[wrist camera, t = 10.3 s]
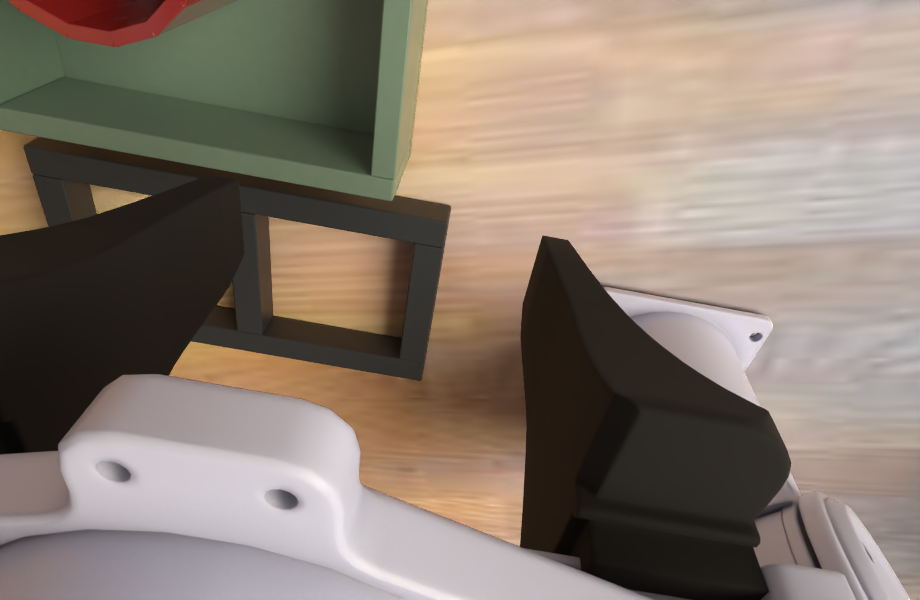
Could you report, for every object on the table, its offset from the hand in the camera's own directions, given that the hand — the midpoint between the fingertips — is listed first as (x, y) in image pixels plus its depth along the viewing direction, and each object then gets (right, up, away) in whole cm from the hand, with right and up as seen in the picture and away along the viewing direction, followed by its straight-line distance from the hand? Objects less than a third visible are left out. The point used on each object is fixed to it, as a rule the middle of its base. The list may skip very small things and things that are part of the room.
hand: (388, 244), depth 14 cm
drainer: (-7, +1, +12) cm, 14 cm away
